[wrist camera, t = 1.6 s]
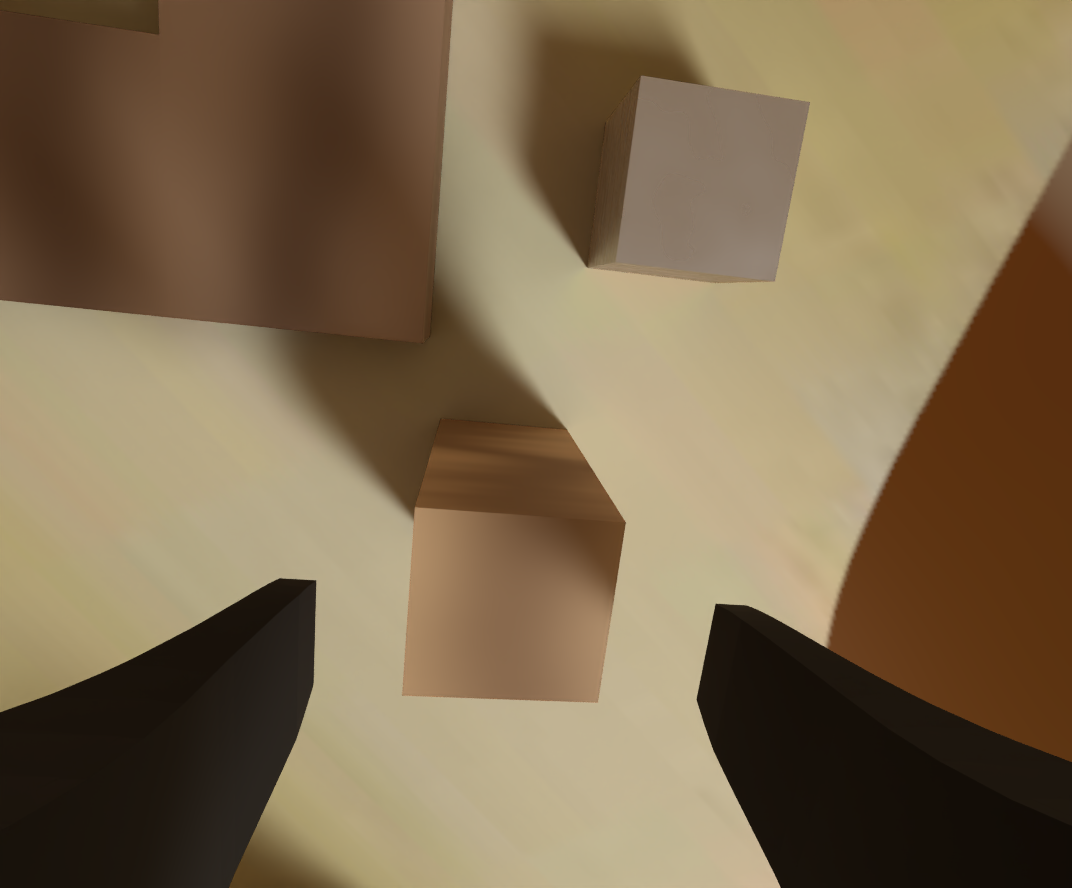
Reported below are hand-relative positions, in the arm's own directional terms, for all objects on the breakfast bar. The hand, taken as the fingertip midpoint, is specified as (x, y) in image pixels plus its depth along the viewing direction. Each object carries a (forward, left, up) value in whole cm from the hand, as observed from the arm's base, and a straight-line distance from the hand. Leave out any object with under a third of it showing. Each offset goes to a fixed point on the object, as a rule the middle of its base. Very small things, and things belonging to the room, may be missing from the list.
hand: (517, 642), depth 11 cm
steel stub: (+4, +9, -9) cm, 13 cm away
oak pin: (0, 0, -9) cm, 9 cm away
